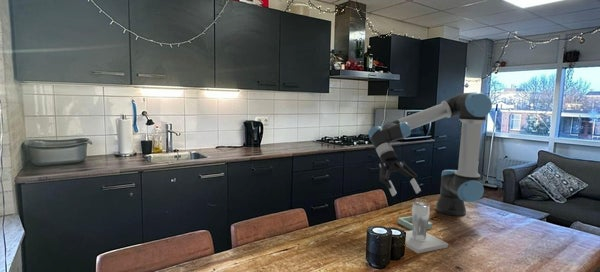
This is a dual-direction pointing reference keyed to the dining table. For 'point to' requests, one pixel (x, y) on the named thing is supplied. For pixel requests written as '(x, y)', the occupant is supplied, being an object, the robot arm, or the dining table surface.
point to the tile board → (424, 243)
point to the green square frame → (406, 220)
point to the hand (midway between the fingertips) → (406, 193)
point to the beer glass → (420, 220)
